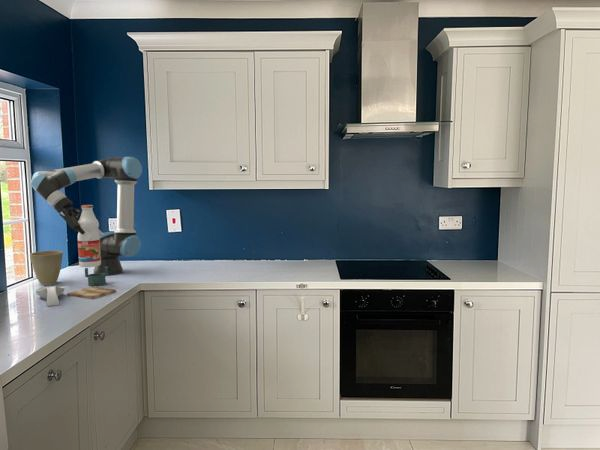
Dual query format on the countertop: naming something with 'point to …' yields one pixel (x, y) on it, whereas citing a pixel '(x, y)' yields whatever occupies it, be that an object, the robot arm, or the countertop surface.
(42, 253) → the plant pot
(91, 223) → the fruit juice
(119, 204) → the robot arm
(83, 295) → the brown square board
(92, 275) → the bracket
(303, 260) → the countertop surface
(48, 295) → the spoon rest
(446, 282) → the countertop surface
